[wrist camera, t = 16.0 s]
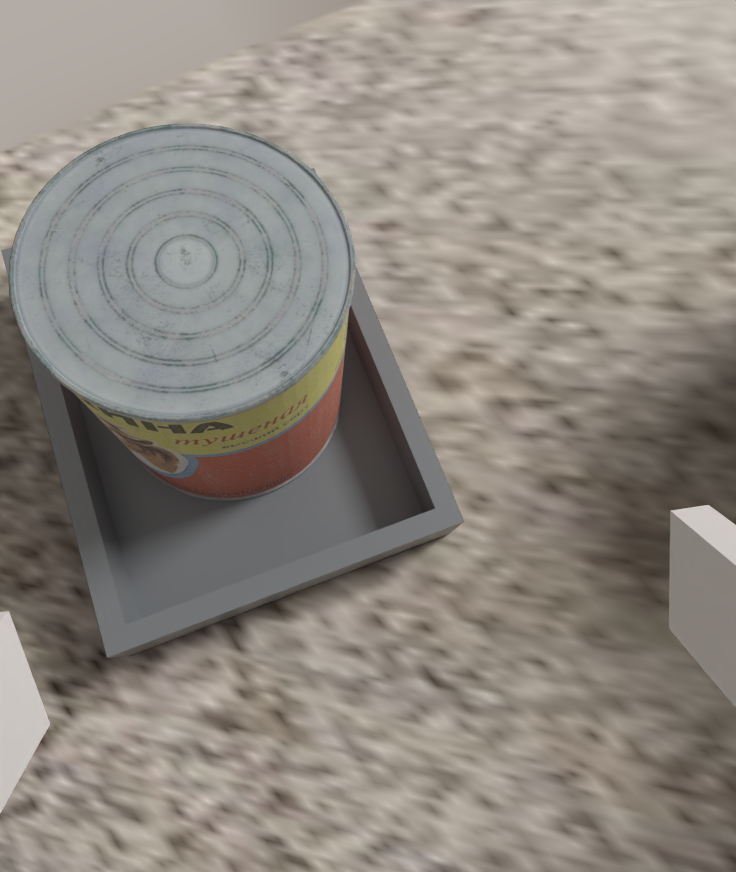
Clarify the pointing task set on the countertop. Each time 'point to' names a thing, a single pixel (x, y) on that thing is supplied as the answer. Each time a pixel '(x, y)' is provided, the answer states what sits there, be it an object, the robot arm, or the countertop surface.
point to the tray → (247, 506)
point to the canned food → (193, 303)
